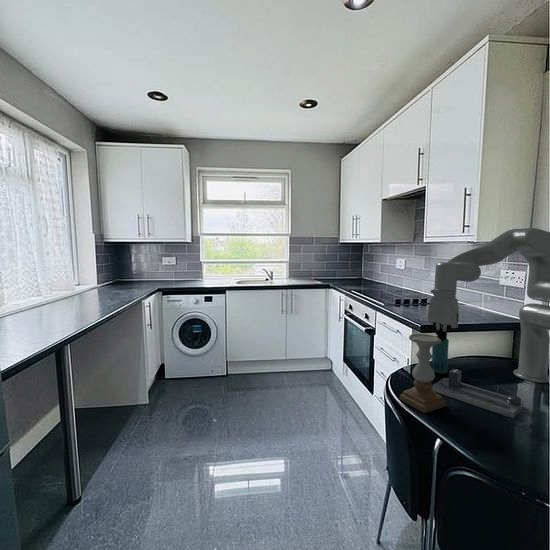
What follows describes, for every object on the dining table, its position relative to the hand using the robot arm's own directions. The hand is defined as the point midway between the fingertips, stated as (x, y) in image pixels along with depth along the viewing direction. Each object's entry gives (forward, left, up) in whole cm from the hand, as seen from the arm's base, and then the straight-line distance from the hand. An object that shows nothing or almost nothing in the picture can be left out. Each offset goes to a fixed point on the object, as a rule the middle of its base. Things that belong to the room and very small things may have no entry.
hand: (441, 340), depth 123 cm
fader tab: (0, +5, -17) cm, 18 cm away
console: (0, +12, -19) cm, 23 cm away
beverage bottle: (-13, -6, -19) cm, 24 cm away
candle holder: (+18, +1, -19) cm, 26 cm away
